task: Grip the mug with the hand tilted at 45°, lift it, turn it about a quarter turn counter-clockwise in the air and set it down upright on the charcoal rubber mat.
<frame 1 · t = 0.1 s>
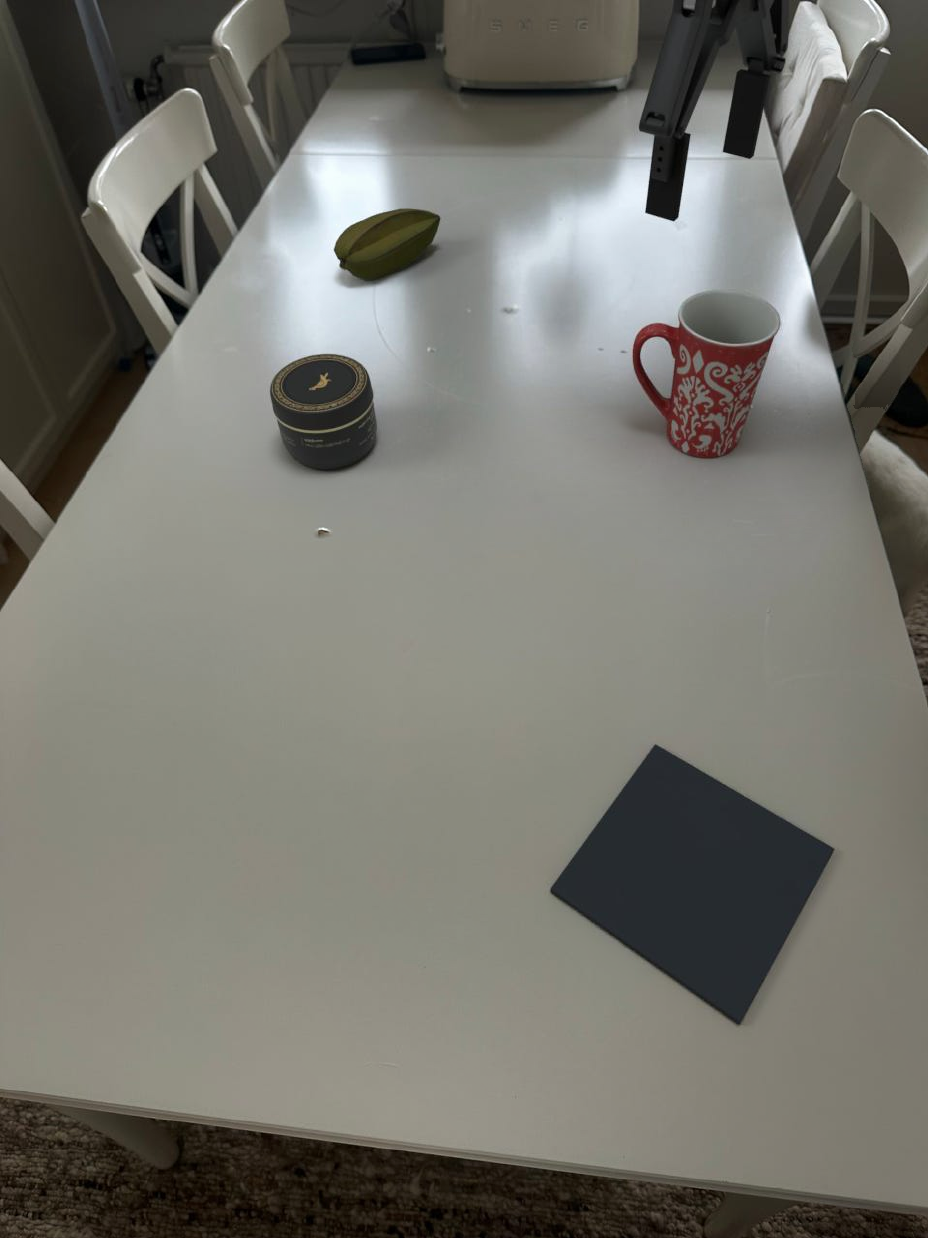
hand: (701, 183, 75), 22 cm above the table, tool pointing down, fingers open, 13 cm apart
jar: (332, 444, 90), on the table
mug: (685, 434, 88), on the table
fruit: (390, 268, 112), on the table
mat: (692, 872, 59), on the table
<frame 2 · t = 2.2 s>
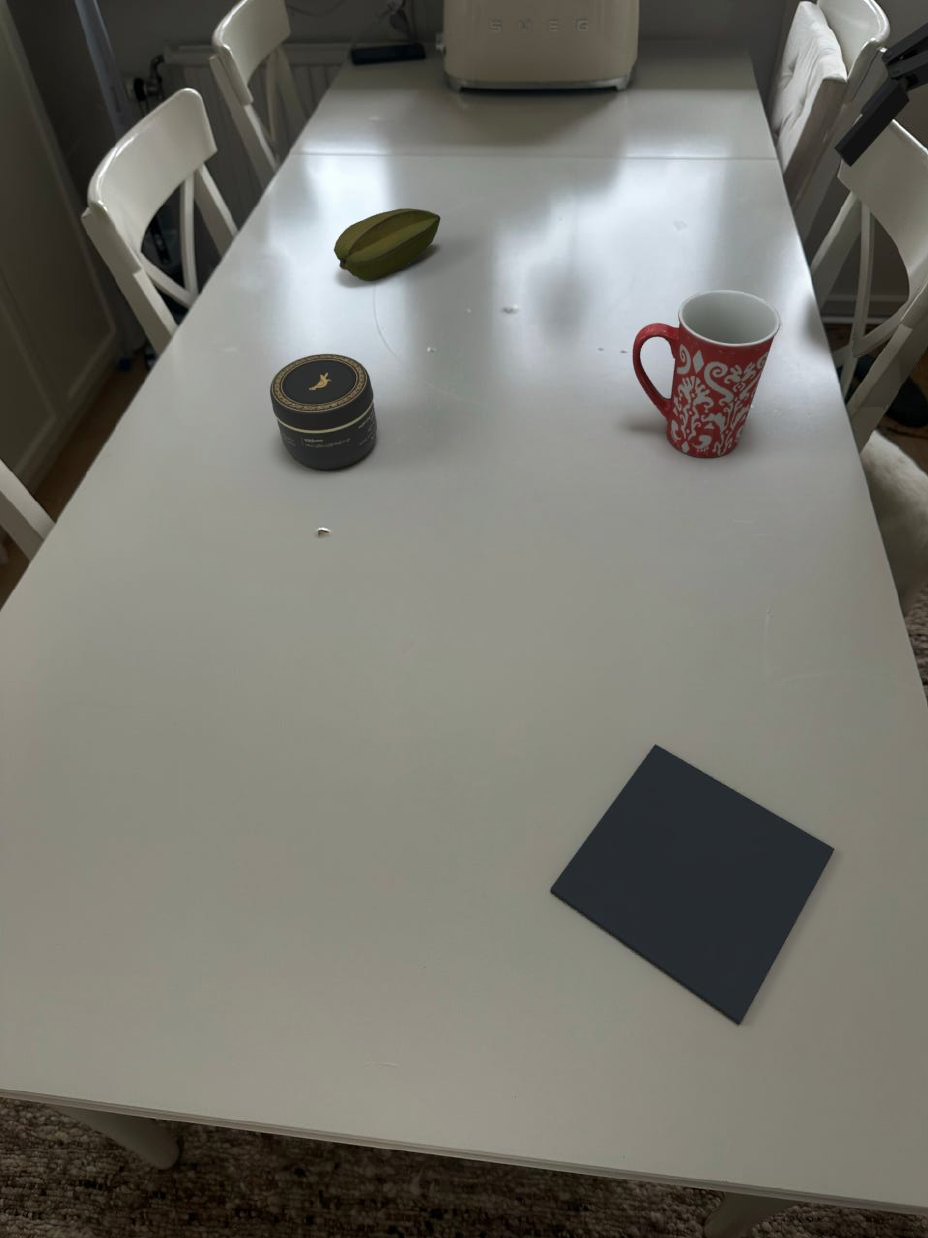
hand: (893, 193, 74), 21 cm above the table, tool tilted 45°, fingers open, 13 cm apart
nothing on the table moved.
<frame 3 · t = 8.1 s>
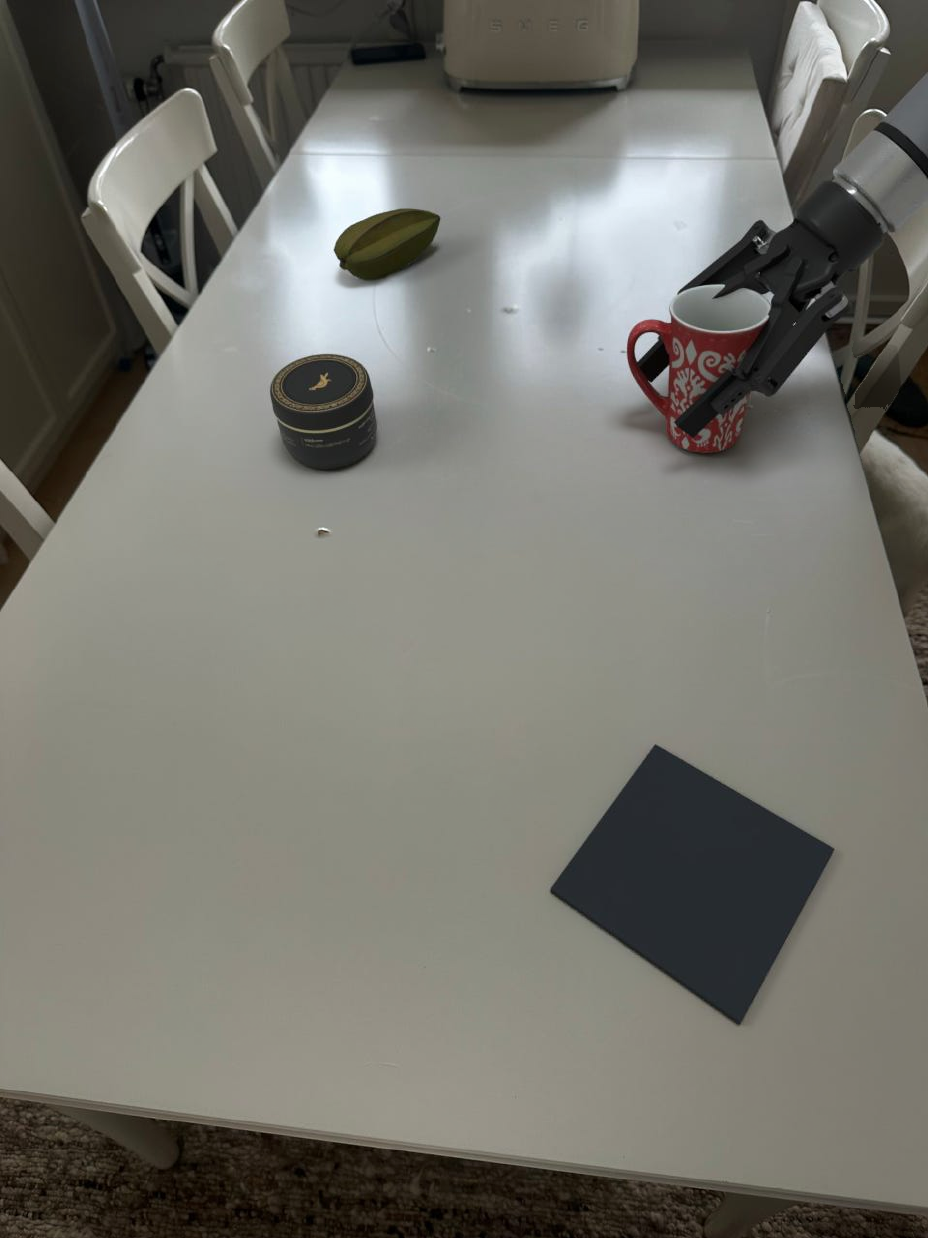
hand: (662, 401, 84), 5 cm above the table, tool tilted 45°, fingers closed on mug, 8 cm apart
mug: (685, 432, 88), on the table, touching gripper
everything else where it was.
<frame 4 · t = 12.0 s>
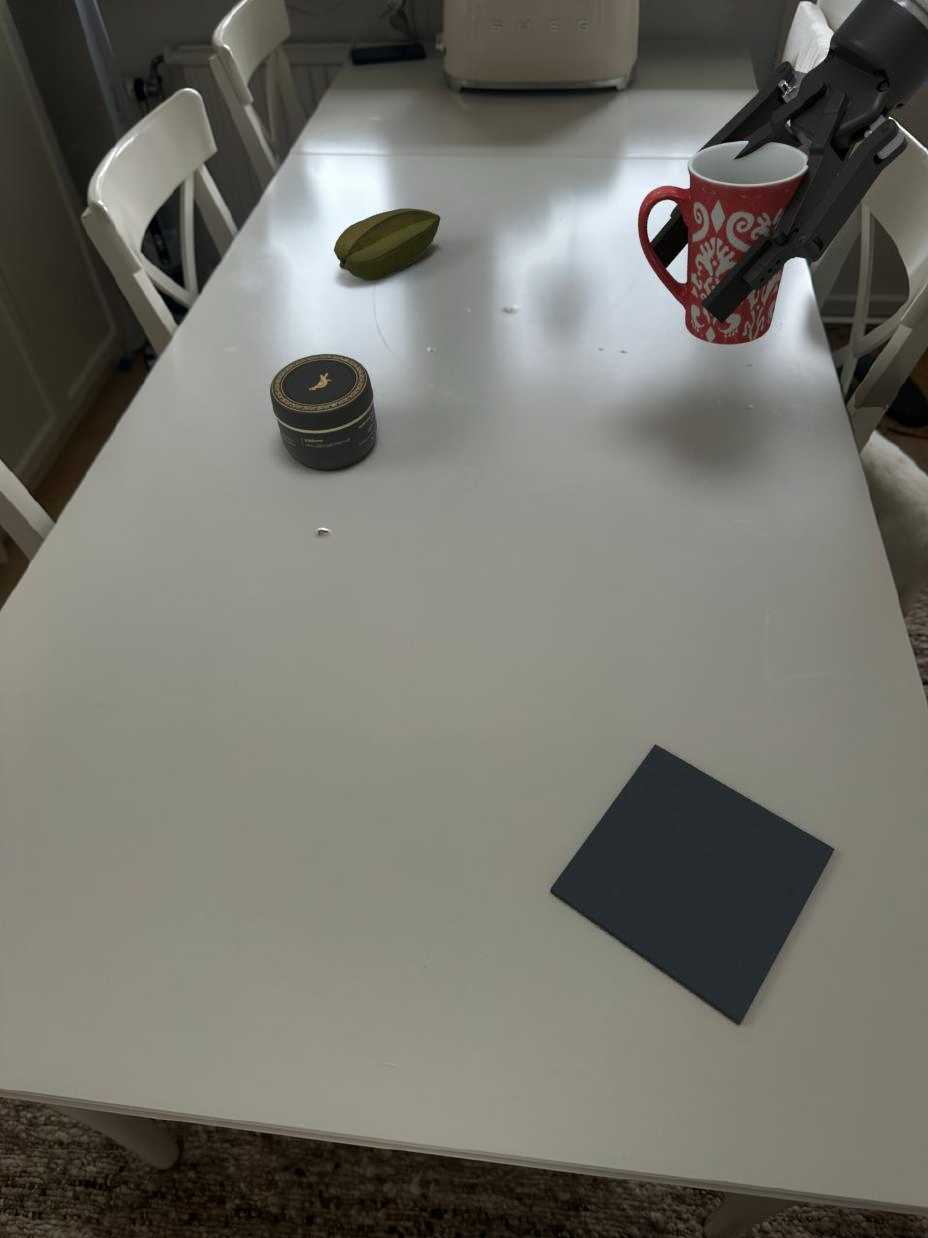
hand: (681, 286, 72), 18 cm above the table, tool tilted 45°, fingers closed on mug, 8 cm apart
mug: (707, 326, 76), point 14 cm above the table, touching gripper
everything else where it was.
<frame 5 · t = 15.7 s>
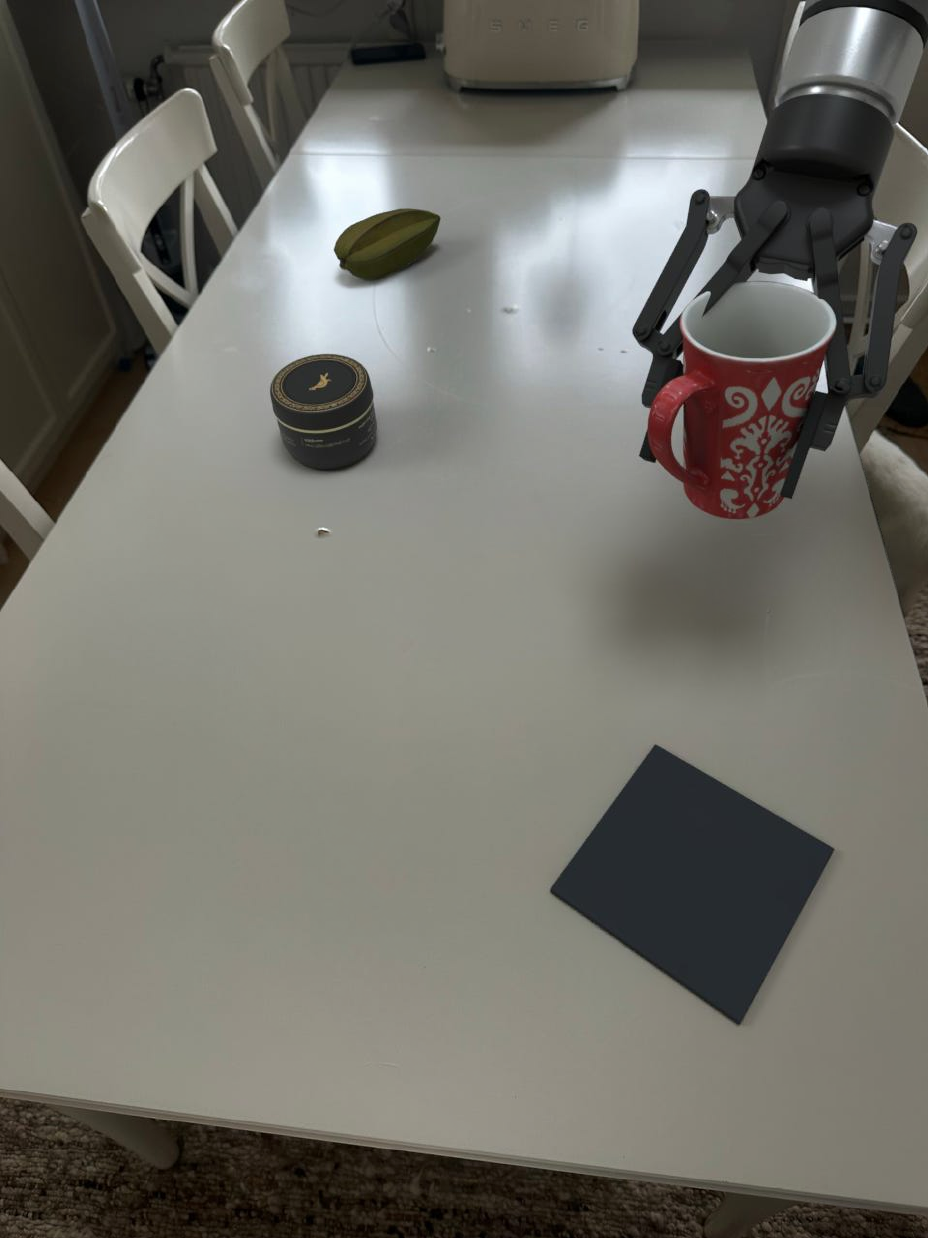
hand: (715, 477, 57), 19 cm above the table, tool tilted 45°, fingers closed on mug, 8 cm apart
mug: (715, 498, 62), point 14 cm above the table, touching gripper
everything else where it was.
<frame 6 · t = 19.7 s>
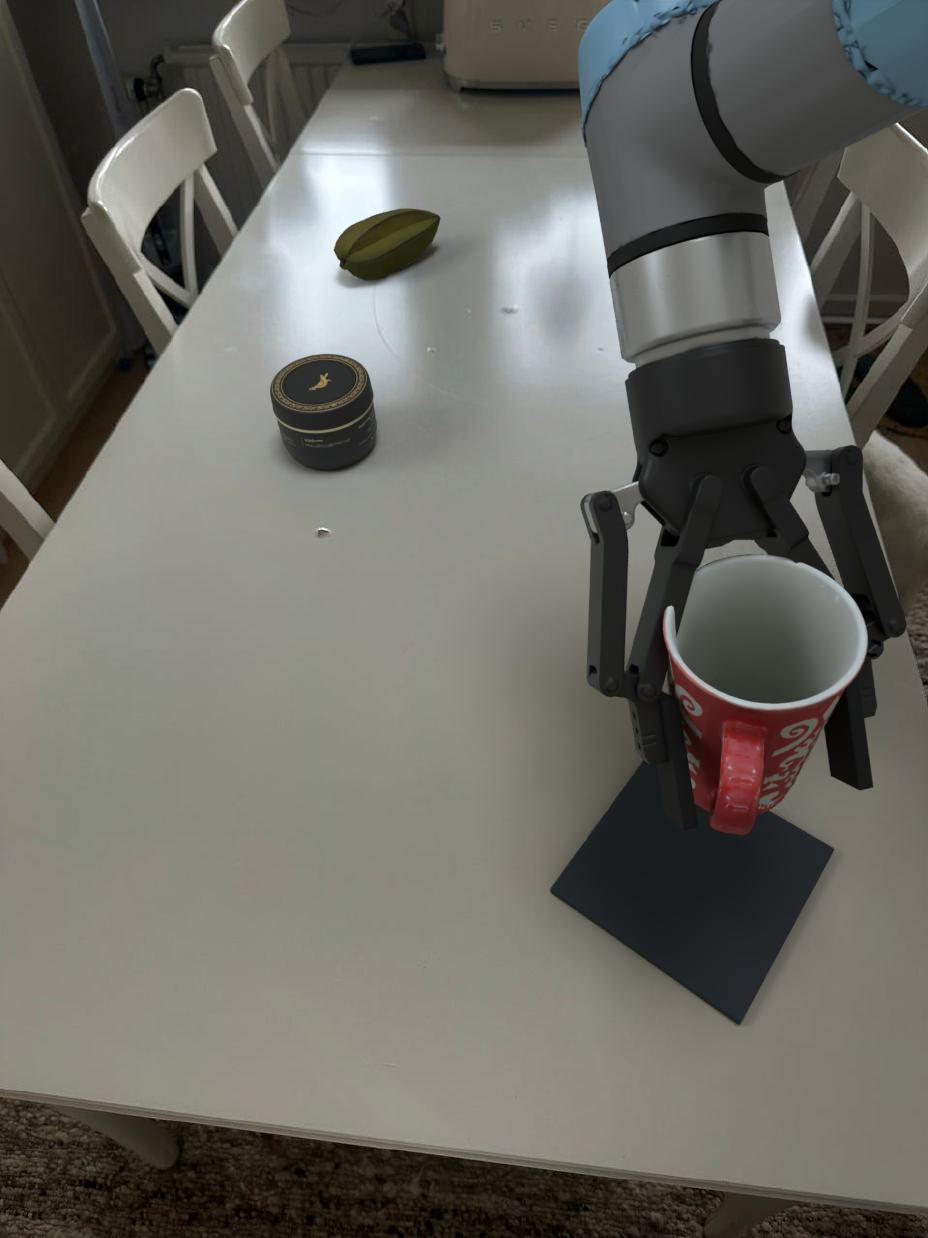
hand: (767, 800, 44), 17 cm above the table, tool tilted 45°, fingers closed on mug, 8 cm apart
mug: (723, 787, 50), point 12 cm above the table, touching gripper
everything else where it was.
when the fingers open (5 cm above the table, at t = 23.3 s): mug stays where it is, resting on mat.
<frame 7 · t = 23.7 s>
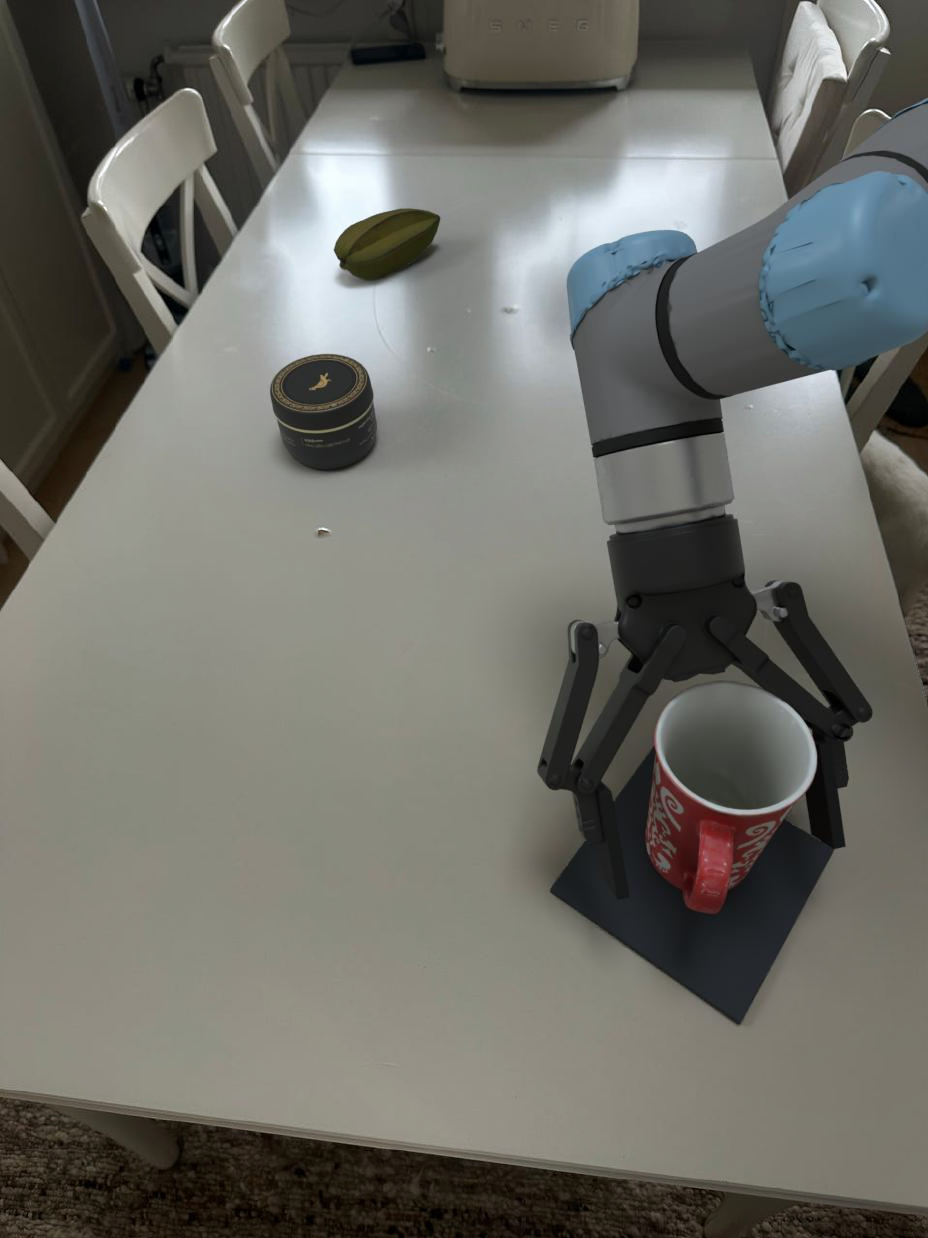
hand: (723, 865, 53), 7 cm above the table, tool tilted 45°, fingers open, 13 cm apart
mug: (691, 868, 59), resting on mat
everything else where it was.
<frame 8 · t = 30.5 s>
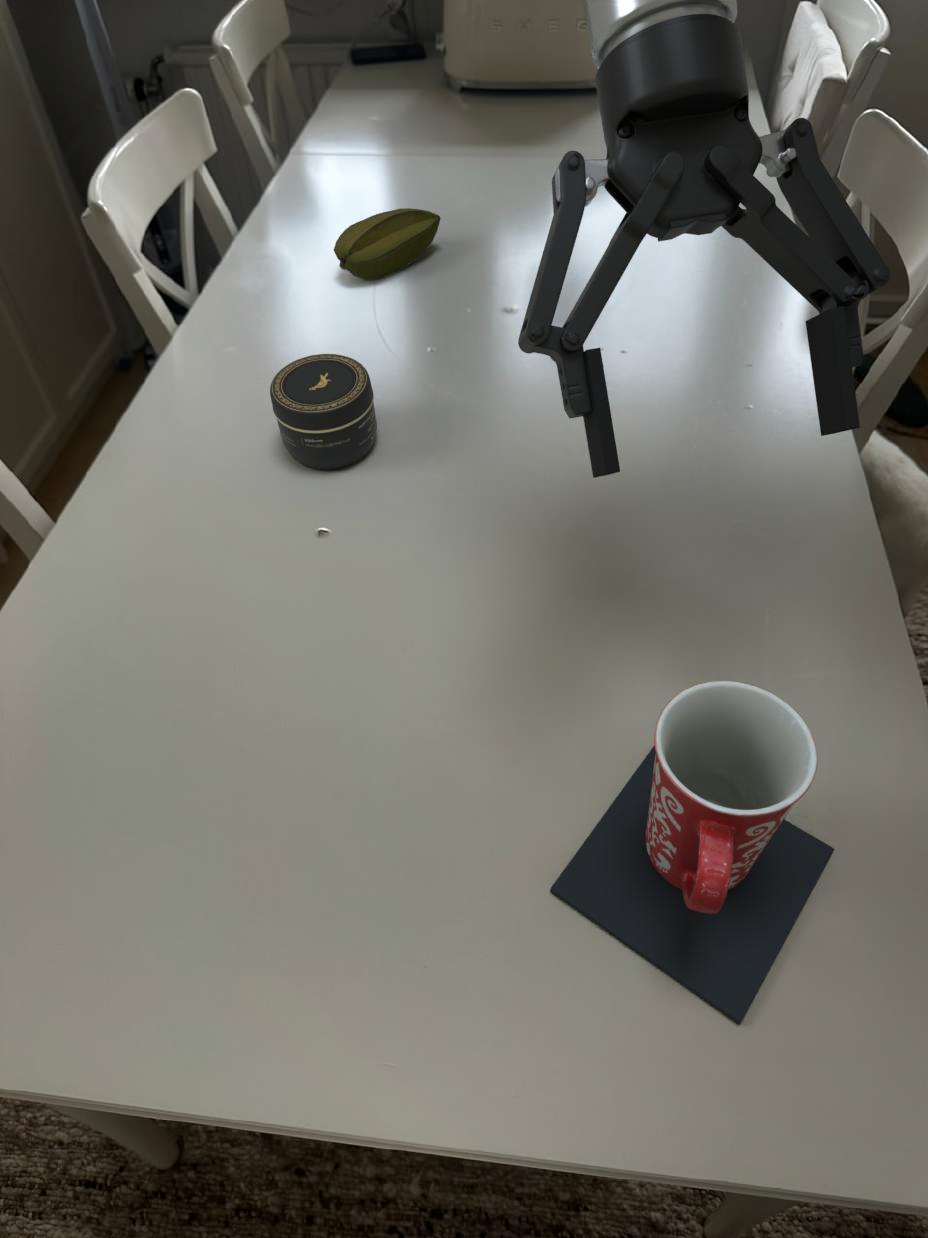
hand: (724, 454, 48), 26 cm above the table, tool tilted 45°, fingers open, 13 cm apart
nothing on the table moved.
at the end: mug inside the target area on the mat (0.1 cm from its centre), point 0.4 cm above the mat's base; mug tilted 0°; mug moved 46.9 cm from its start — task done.
